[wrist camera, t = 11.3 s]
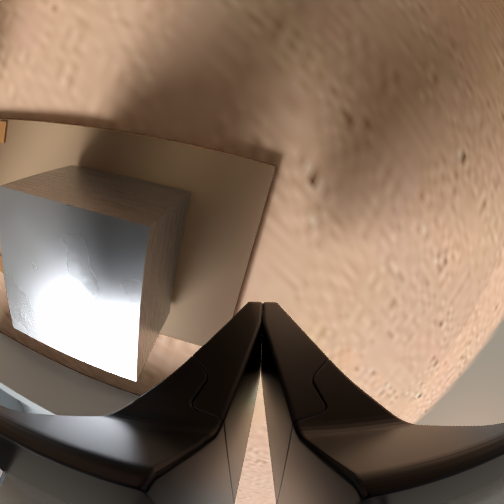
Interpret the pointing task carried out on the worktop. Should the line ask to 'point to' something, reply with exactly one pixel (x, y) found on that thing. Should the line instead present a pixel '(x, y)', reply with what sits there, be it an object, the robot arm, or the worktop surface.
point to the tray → (52, 386)
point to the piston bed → (174, 175)
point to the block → (91, 262)
